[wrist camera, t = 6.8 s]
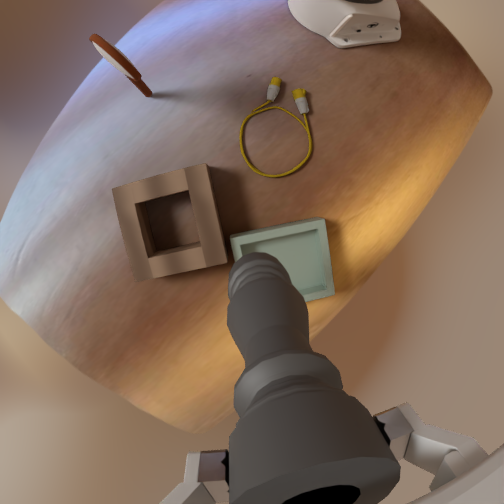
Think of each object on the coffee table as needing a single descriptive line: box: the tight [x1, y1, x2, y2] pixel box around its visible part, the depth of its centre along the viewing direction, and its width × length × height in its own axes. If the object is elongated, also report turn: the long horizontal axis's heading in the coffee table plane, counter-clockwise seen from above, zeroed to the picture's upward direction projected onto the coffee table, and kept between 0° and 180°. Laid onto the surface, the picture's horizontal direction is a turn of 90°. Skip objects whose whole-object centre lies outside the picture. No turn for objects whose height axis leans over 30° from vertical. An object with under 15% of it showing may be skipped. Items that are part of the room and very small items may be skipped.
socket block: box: [112, 163, 228, 282], centre depth 41 cm, size 14×14×5 cm
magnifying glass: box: [89, 34, 152, 97], centre depth 29 cm, size 9×2×20 cm, turn 44°
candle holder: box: [227, 252, 401, 504], centre depth 18 cm, size 6×6×25 cm
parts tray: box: [230, 217, 335, 302], centre depth 44 cm, size 14×12×4 cm
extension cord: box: [240, 77, 312, 178], centre depth 41 cm, size 12×16×2 cm
